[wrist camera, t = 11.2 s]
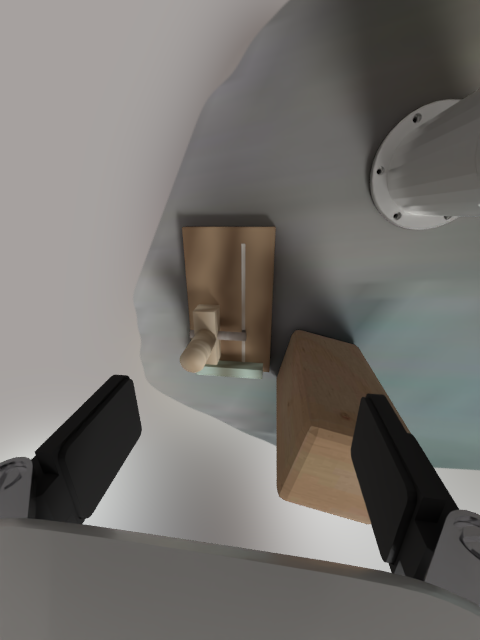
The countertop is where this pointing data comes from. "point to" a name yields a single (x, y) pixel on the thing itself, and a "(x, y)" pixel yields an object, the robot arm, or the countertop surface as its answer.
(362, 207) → the countertop surface
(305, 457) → the wooden block
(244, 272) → the walnut board
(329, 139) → the countertop surface
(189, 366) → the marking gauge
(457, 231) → the countertop surface
